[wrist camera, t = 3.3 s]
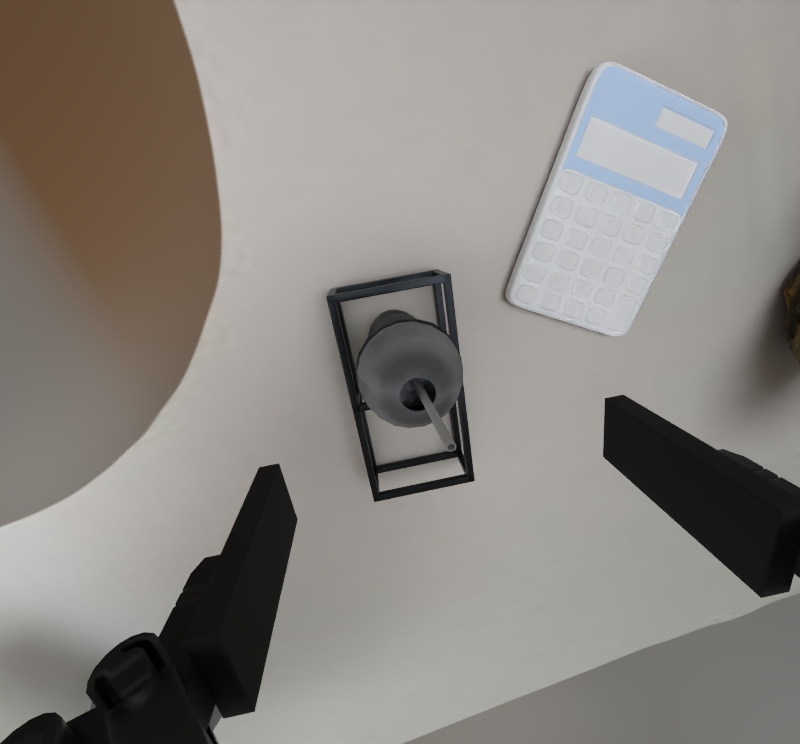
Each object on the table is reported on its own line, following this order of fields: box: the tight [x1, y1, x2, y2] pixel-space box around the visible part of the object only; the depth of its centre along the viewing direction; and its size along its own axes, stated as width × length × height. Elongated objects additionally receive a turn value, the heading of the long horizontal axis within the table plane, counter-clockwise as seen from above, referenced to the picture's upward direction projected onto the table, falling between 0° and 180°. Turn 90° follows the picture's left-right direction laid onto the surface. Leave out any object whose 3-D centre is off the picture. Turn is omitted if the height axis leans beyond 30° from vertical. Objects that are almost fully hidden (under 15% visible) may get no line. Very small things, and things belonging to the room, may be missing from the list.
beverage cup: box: [355, 310, 463, 452], centre depth 26 cm, size 7×7×20 cm
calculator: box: [505, 61, 728, 337], centre depth 33 cm, size 13×20×2 cm, turn 163°
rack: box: [326, 270, 474, 502], centre depth 35 cm, size 10×20×5 cm, turn 10°
